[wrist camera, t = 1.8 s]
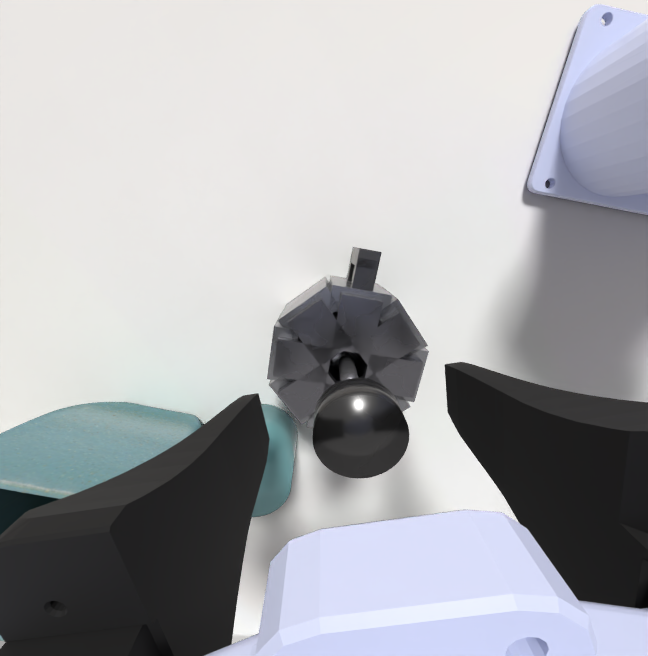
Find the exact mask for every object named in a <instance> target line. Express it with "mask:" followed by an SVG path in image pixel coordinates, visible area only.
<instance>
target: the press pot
mask: <svg viewBox="0 0 648 656" xmlns="http://www.w3.org/2000/svg"><path fill="white" fill-rule="evenodd" d="M380 257H381V252H377V251H372V250H367V249H361V248H356V247H353V249H352V254H351V259H350V264H349V270H348V275H347V278H341V277H336V276H330V282H329V281H328V280H327V279H326V277H324V278H323V279H321V280H320V281H319V282H317V283H316V284H314V285H313V286H312V287H310V288H309V289H307V290H306V291H305V292H303V293H302V294H300V295H299V296H298V297H296V298H295V299H293V300H292V301H290V302H289V303H288V304H287V305H286V306H285V308H284V310H283V311H282V313H281V315H280V317H279V318H278V320H277V322H276V324H275V325H274V331H273V338H272V346H271V353H270V361H269V368H268V376H267V379H270V383H269V386H270V387H271V388H272V389H273V390H274V392H275V393H276V394H277V395H278V396H279V398H280V399H281V400H282V401H283V403H284V404H285V405H286V406H287V407H288V409H289V410H290V411H291V412H292V413H293V415H294V416H295V417H296V418H297V419H298V421H299V422H300V423H301V424H303V423H305V422H306V421H307V427H309V428H313V424H314V411H315V407H316V404H317V402H318V400H319V398H320V397H321V395H322V394H323V393H324V392H325V391H326V390H327V389H328V388H329V387H331V386H332V385H334V384H336V383H337V382H340V381H341V380H340V372H339V364H338V363H339V360H340V358H341V357H343V356H350V357H352V358H353V360H354V363H355V367H356V370H357V374H358V378H366V379H370V380H374V381H376V382H378V383H380V384H382V385H384V386H385V387H386V388H387V389H389V390H390V391H391V393H392V394H393V395H394V397H395V398H396V400H397V402H398V405H399V407H400V409H401V411H404V410H406V409H407V408H409V407H410V405H409V403H408V401H411V402H414V401H415V398H416V394H417V391H418V387H419V384H420V380H421V377H422V373H423V370H424V366H425V362H426V359H427V355H428V352H429V351H428V350H427V349H426V348H425V347H426V346H428V345H427V343H426V342H425V340H424V339H423V337H422V336H421V334H420V333H419V331H418V329H417V328H416V326H415V325H414V323H413V322H412V320H411V319H410V317H409V315H408V314H407V312H406V311H405V309H404V308H403V306H402V305H401V303H400V302H399V300H398V299H397V298H396V297H395V296H393V295H392V294H391V293H390V292H388V291H387V290H386V289H384V288H383V287H381V286H380V285H378V284H376V283H375V280H376V275H377V270H378V266H379V261H380Z"/></svg>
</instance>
